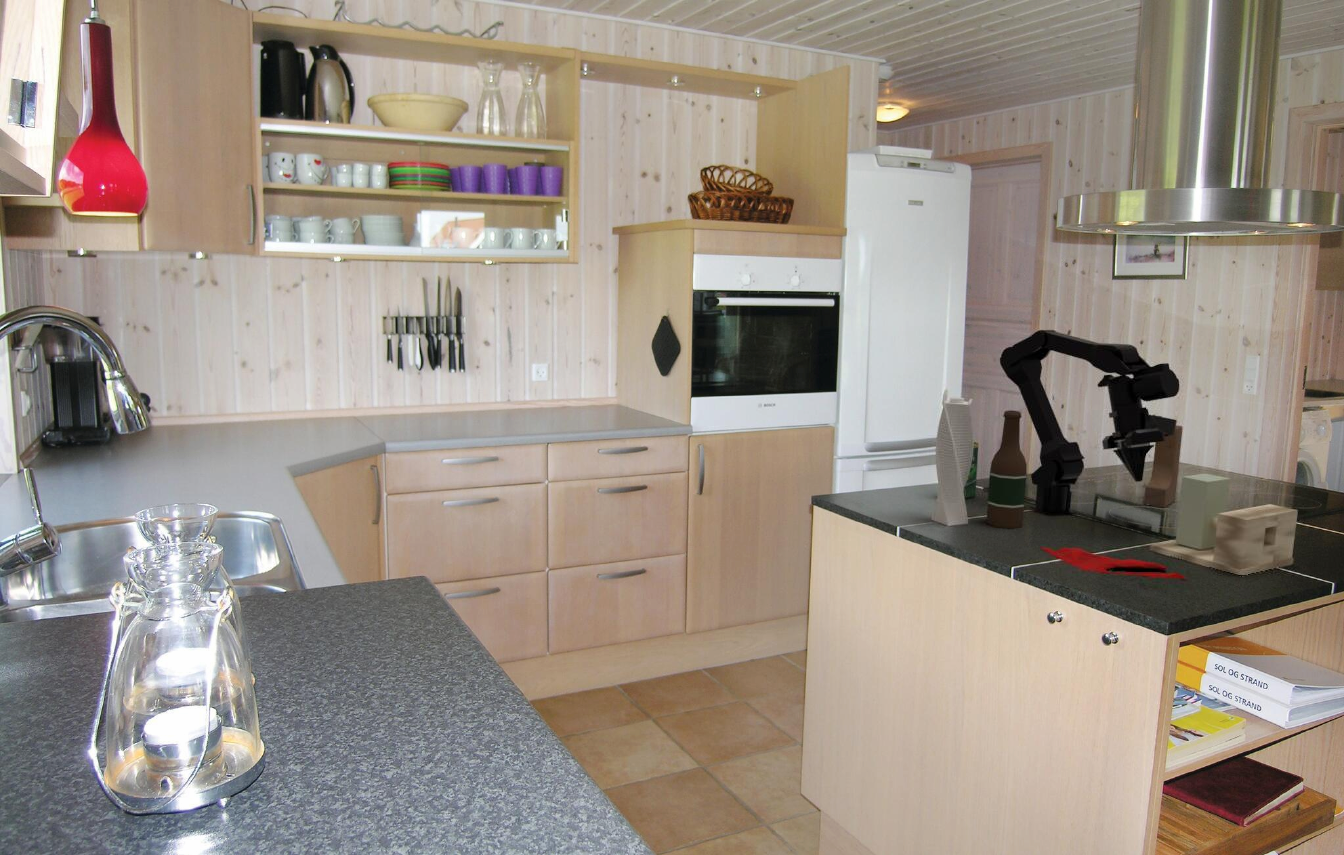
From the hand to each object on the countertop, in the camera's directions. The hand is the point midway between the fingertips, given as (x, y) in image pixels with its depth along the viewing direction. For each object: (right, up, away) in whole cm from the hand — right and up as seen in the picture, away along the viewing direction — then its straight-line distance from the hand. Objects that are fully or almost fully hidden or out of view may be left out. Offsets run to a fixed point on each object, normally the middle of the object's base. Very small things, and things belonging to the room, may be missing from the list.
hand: (1139, 481), depth 193 cm
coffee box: (-27, -6, +31) cm, 41 cm away
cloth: (-16, -15, -19) cm, 29 cm away
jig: (+9, -14, -14) cm, 22 cm away
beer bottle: (-24, -10, +8) cm, 27 cm away
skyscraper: (-36, -9, +9) cm, 38 cm away
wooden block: (+19, -7, +29) cm, 35 cm away
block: (+7, -12, -12) cm, 18 cm away
